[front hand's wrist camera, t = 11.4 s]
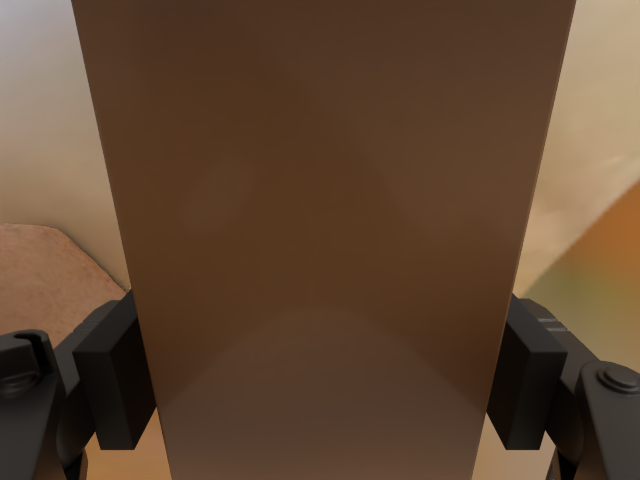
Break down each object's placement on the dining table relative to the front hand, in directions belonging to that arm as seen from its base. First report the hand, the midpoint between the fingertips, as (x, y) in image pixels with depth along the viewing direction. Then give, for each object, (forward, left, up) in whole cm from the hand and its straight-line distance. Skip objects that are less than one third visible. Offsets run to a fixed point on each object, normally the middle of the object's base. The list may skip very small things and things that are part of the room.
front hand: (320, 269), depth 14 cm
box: (+6, +5, -1) cm, 8 cm away
